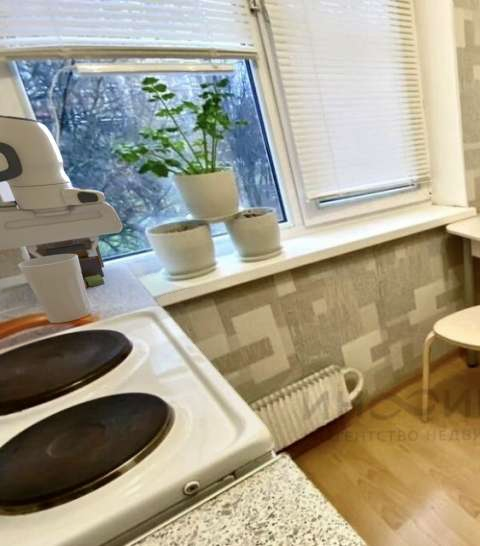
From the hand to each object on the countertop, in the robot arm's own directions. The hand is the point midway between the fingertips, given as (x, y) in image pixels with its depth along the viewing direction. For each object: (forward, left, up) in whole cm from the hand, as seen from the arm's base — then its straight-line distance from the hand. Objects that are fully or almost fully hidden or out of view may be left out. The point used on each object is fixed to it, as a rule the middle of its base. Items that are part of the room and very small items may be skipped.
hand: (70, 260), depth 93 cm
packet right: (+3, +8, -7) cm, 12 cm away
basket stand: (0, +18, -8) cm, 20 cm away
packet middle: (0, +8, -7) cm, 11 cm away
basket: (0, +11, +2) cm, 11 cm away
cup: (-4, -14, -9) cm, 16 cm away
